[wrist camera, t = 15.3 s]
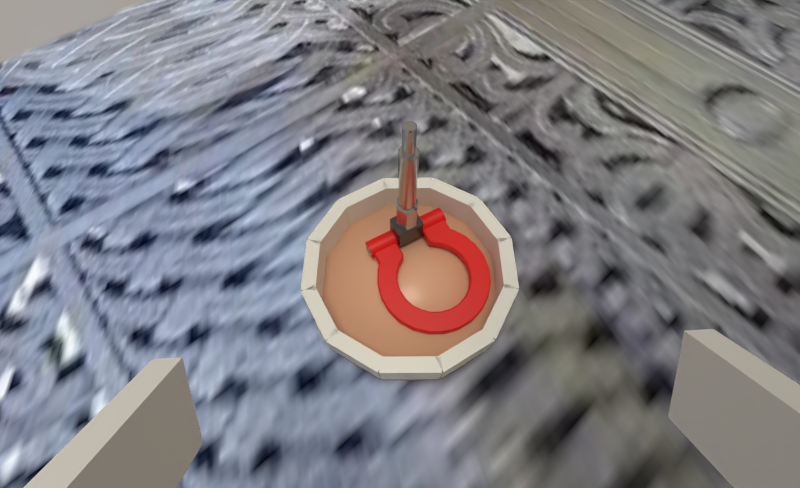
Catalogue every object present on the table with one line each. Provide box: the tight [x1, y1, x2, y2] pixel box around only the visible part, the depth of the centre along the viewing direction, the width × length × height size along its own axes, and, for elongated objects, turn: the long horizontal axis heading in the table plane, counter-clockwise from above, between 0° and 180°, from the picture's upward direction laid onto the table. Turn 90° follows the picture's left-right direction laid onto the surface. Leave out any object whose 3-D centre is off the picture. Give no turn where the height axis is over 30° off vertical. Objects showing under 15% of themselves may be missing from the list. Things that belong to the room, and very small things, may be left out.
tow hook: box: [365, 121, 491, 334], centre depth 25 cm, size 8×13×9 cm
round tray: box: [301, 178, 519, 381], centre depth 29 cm, size 15×15×3 cm
